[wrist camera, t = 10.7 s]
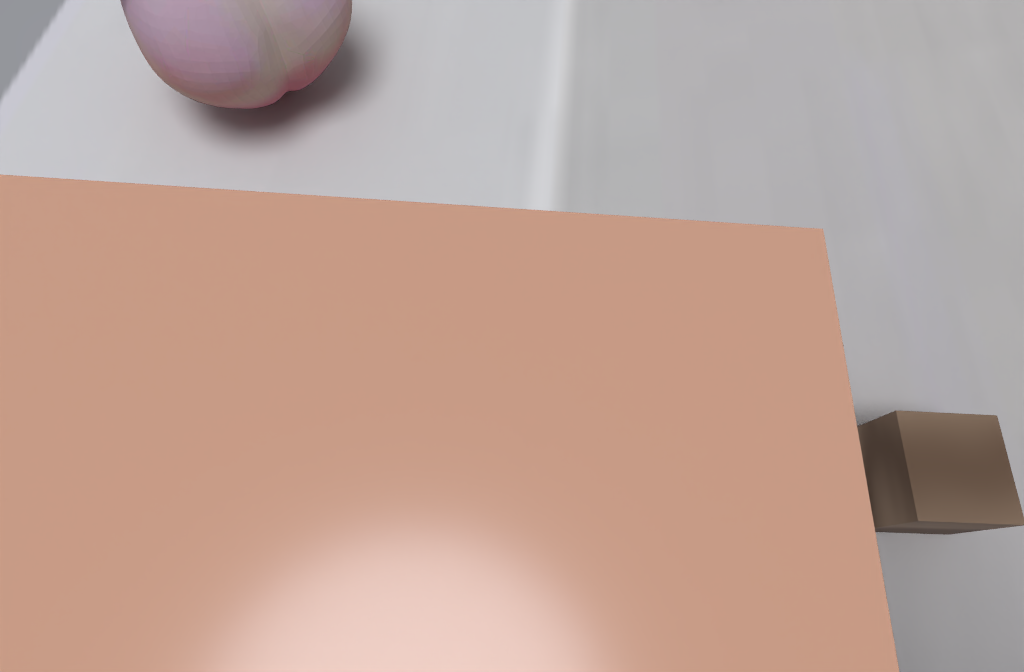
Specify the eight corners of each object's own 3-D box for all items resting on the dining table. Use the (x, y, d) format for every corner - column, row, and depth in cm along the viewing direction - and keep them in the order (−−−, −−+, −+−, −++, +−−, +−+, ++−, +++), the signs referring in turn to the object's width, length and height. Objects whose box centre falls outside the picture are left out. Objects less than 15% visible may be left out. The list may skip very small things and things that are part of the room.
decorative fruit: (304, -3, 35) (248, -222, 25) (392, 97, 33) (366, -101, 23) (138, 73, 32) (8, -140, 23) (223, 187, 30) (118, 4, 21)
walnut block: (946, 534, 27) (1025, 524, 23) (853, 531, 26) (918, 521, 23) (925, 438, 28) (996, 415, 24) (837, 434, 28) (895, 410, 24)
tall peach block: (588, 800, 12) (1053, 1565, 2) (253, 795, 11) (-638, 1657, 2) (584, 470, 14) (822, 228, 5) (304, 457, 14) (-28, 173, 4)
